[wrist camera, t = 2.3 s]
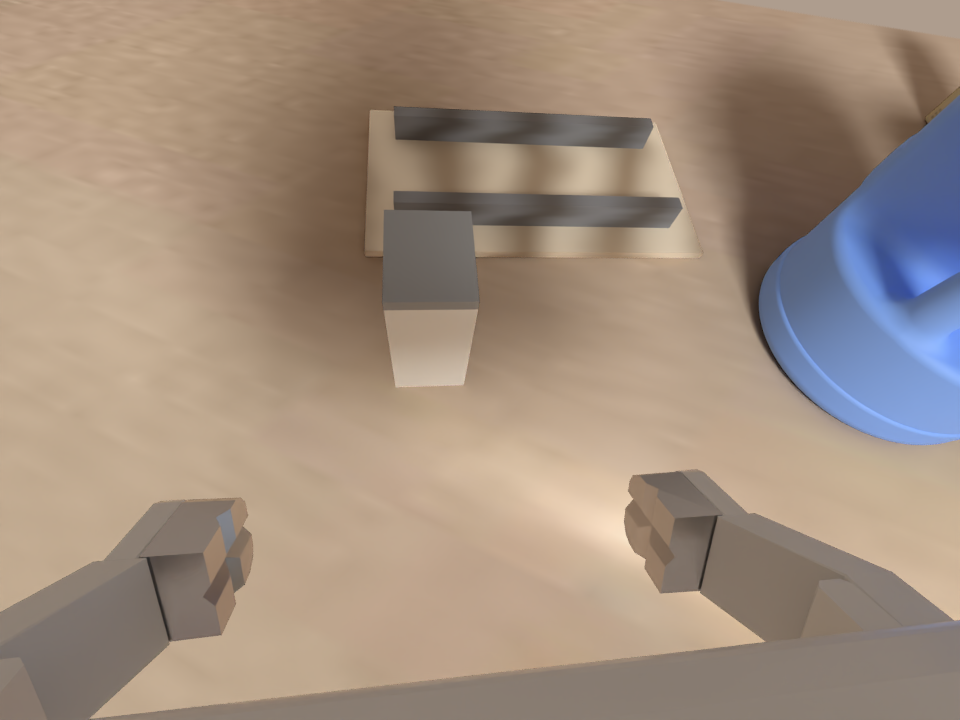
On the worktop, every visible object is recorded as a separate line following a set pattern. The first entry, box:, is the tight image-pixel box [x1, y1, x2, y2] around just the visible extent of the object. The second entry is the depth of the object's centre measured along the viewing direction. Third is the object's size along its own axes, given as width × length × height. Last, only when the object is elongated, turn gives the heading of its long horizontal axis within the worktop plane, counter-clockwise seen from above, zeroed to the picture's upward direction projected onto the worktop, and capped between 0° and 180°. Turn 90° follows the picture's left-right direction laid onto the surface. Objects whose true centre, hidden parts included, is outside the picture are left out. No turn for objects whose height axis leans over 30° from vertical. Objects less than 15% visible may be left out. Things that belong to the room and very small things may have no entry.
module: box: [382, 210, 480, 387], centre depth 24 cm, size 4×5×9 cm
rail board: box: [364, 106, 703, 258], centre depth 34 cm, size 24×14×3 cm, turn 94°
